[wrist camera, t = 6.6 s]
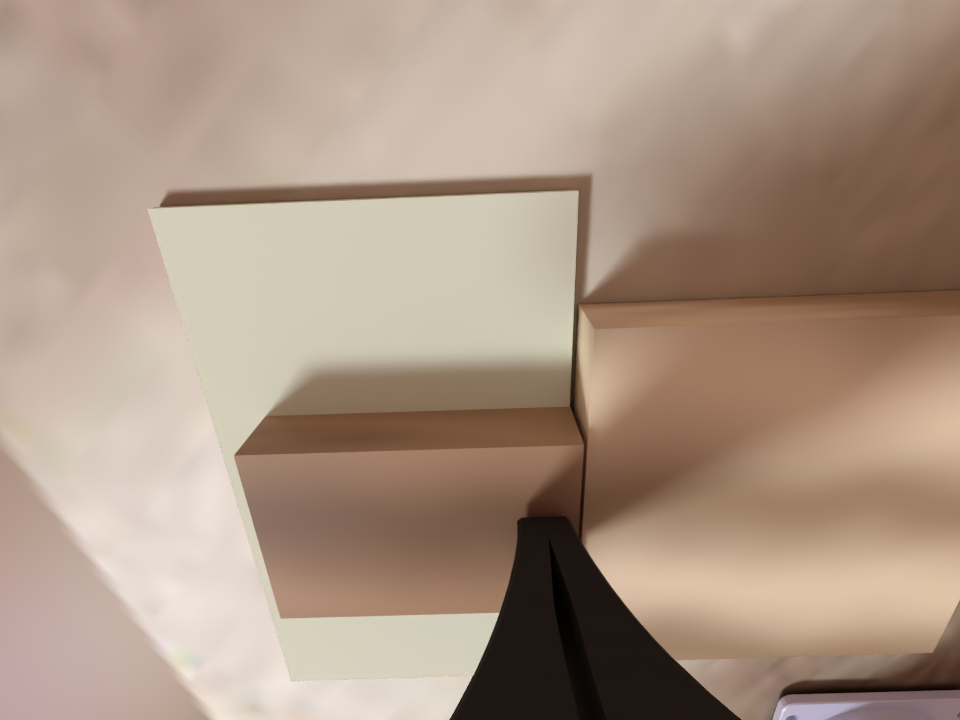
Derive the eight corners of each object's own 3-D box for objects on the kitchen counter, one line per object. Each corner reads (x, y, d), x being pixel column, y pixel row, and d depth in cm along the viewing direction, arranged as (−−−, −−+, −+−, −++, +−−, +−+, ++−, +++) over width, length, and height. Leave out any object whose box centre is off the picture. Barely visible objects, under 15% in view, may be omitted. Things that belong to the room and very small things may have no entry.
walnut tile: (563, 559, 16) (573, 610, 15) (302, 567, 16) (280, 618, 15) (570, 406, 14) (584, 445, 12) (265, 416, 14) (233, 456, 12)
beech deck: (886, 601, 18) (932, 652, 16) (564, 610, 18) (574, 662, 16) (1018, 287, 13) (1107, 310, 11) (578, 304, 13) (594, 329, 11)
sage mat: (557, 663, 19) (558, 673, 19) (294, 670, 19) (291, 681, 19) (575, 189, 12) (579, 191, 12) (157, 207, 12) (147, 208, 12)
